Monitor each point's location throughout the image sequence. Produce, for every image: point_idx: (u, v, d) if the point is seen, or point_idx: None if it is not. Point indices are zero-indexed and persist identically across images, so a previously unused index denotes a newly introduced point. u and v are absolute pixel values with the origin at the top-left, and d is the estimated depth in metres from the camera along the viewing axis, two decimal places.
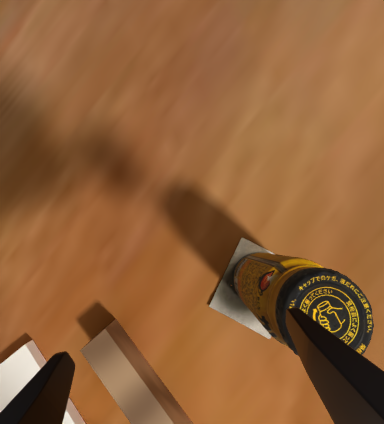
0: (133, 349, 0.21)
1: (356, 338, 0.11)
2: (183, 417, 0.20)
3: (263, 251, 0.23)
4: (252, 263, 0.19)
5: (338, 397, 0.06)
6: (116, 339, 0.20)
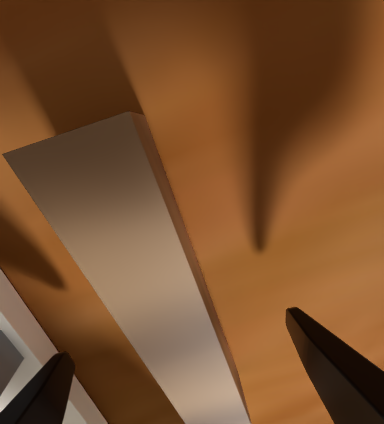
0: (178, 215, 0.08)
1: None
2: (226, 345, 0.11)
3: None
4: None
5: (338, 397, 0.06)
6: (156, 172, 0.06)
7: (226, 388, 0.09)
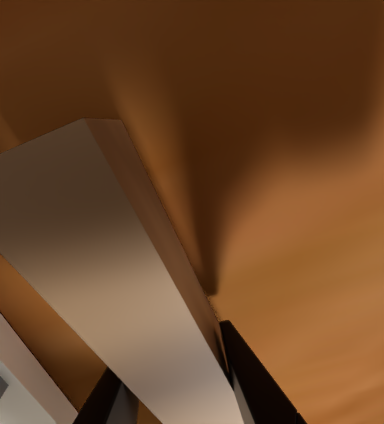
0: (169, 231, 0.07)
1: None
2: None
3: None
4: None
5: (245, 416, 0.06)
6: (132, 190, 0.05)
7: (237, 420, 0.08)
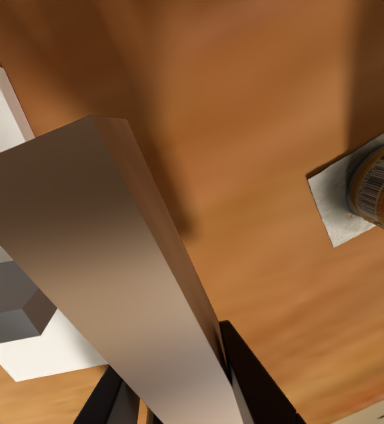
0: (171, 230, 0.07)
1: None
2: None
3: None
4: None
5: (245, 416, 0.06)
6: (136, 187, 0.05)
7: (236, 419, 0.08)
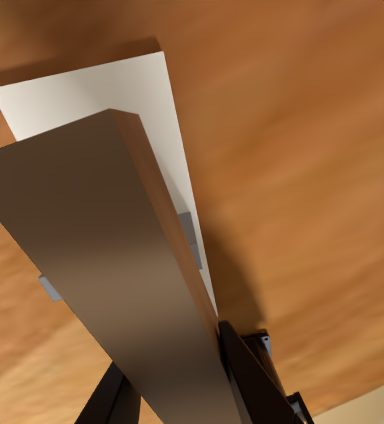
0: (178, 228, 0.07)
1: None
2: None
3: None
4: None
5: (243, 416, 0.06)
6: (148, 183, 0.05)
7: (233, 419, 0.08)
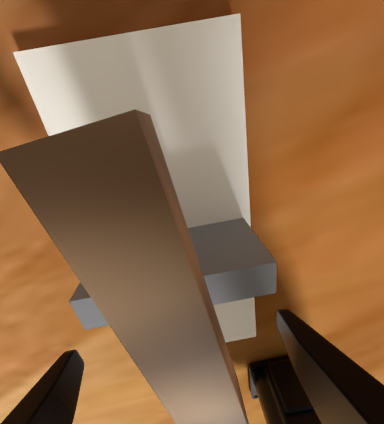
0: (182, 220, 0.07)
1: None
2: (227, 354, 0.11)
3: None
4: None
5: (325, 400, 0.06)
6: (162, 176, 0.05)
7: (228, 401, 0.09)
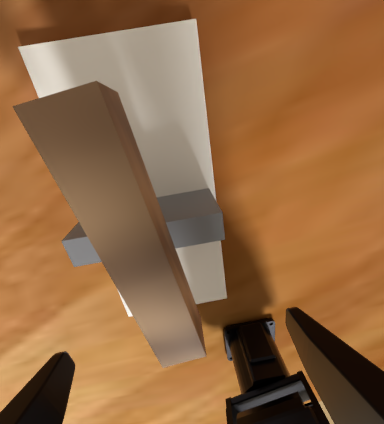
0: (142, 170, 0.10)
1: None
2: (186, 287, 0.13)
3: None
4: None
5: (338, 397, 0.06)
6: (119, 128, 0.08)
7: (180, 311, 0.12)
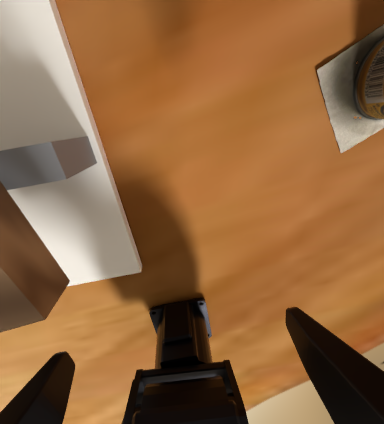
0: None
1: None
2: (20, 237, 0.11)
3: None
4: None
5: (338, 397, 0.06)
6: None
7: None
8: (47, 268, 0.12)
